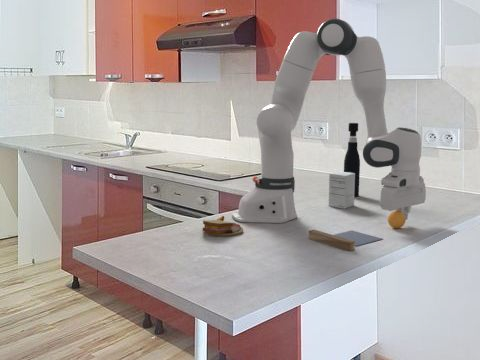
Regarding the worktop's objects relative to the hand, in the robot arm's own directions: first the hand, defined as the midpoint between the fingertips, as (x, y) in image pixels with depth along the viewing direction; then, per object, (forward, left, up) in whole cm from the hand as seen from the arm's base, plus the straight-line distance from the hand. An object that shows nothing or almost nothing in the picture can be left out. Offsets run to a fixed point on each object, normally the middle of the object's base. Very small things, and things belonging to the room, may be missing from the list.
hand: (402, 219), depth 182 cm
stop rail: (-30, -18, -2) cm, 35 cm away
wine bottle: (0, +49, -2) cm, 49 cm away
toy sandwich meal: (-59, -1, -2) cm, 59 cm away
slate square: (-21, -13, -2) cm, 25 cm away
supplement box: (-10, +31, -2) cm, 33 cm away
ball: (-3, -3, +1) cm, 4 cm away
